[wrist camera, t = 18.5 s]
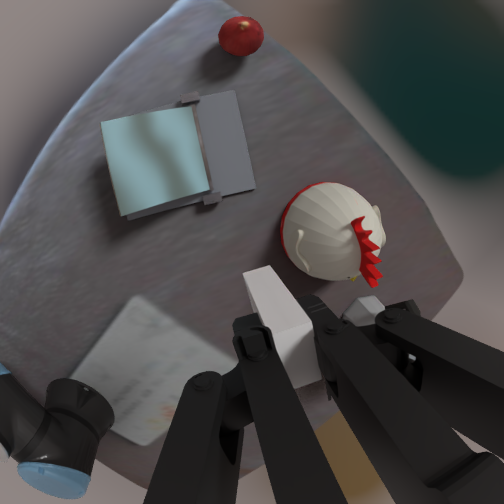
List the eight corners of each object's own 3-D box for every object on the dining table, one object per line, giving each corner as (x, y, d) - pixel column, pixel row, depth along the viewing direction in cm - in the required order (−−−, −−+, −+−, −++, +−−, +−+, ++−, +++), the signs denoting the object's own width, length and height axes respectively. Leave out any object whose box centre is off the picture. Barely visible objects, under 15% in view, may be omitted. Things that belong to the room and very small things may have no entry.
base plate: (128, 220, 40) (127, 220, 39) (107, 124, 36) (105, 123, 35) (255, 188, 41) (256, 188, 41) (234, 90, 37) (234, 89, 37)
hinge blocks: (204, 204, 40) (204, 205, 39) (180, 97, 36) (180, 95, 34) (222, 200, 40) (222, 200, 39) (198, 93, 36) (198, 90, 35)
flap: (215, 189, 39) (211, 190, 40) (196, 104, 36) (193, 106, 36) (122, 218, 32) (120, 217, 33) (100, 120, 29) (99, 122, 30)
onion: (234, 23, 34) (241, -3, 27) (266, 44, 36) (279, 21, 28) (208, 49, 35) (210, 24, 27) (241, 70, 36) (250, 50, 29)
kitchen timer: (292, 285, 46) (329, 334, 31) (268, 197, 42) (302, 210, 28) (371, 257, 47) (428, 290, 32) (356, 172, 43) (418, 177, 28)
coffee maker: (379, 343, 52) (433, 400, 35) (337, 352, 51) (385, 419, 33) (389, 268, 48) (460, 311, 31) (343, 274, 47) (408, 326, 29)
